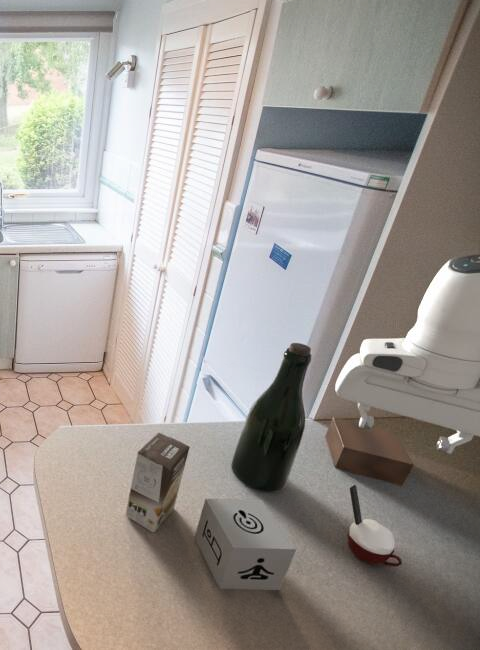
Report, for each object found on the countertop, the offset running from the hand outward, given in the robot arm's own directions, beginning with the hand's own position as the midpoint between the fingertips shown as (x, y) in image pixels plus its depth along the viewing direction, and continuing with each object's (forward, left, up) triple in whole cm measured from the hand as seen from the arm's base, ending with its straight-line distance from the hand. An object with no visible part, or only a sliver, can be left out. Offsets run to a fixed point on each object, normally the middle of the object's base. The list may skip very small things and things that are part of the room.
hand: (402, 438), depth 72 cm
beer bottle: (+13, -15, -27) cm, 33 cm away
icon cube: (+18, +11, -27) cm, 34 cm away
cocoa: (-3, -2, -27) cm, 27 cm away
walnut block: (-9, -32, -27) cm, 42 cm away
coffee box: (+33, +6, -27) cm, 43 cm away
